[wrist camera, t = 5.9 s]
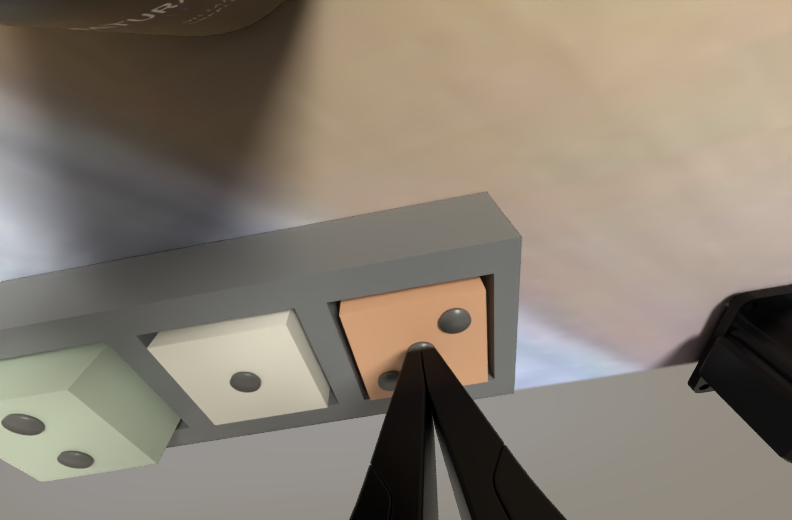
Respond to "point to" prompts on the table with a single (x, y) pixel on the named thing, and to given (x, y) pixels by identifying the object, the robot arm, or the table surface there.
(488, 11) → the table surface
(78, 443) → the tile two dots
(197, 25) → the supplement bottle
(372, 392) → the tile three dots
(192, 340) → the tile one dot
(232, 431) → the grey tile tray
